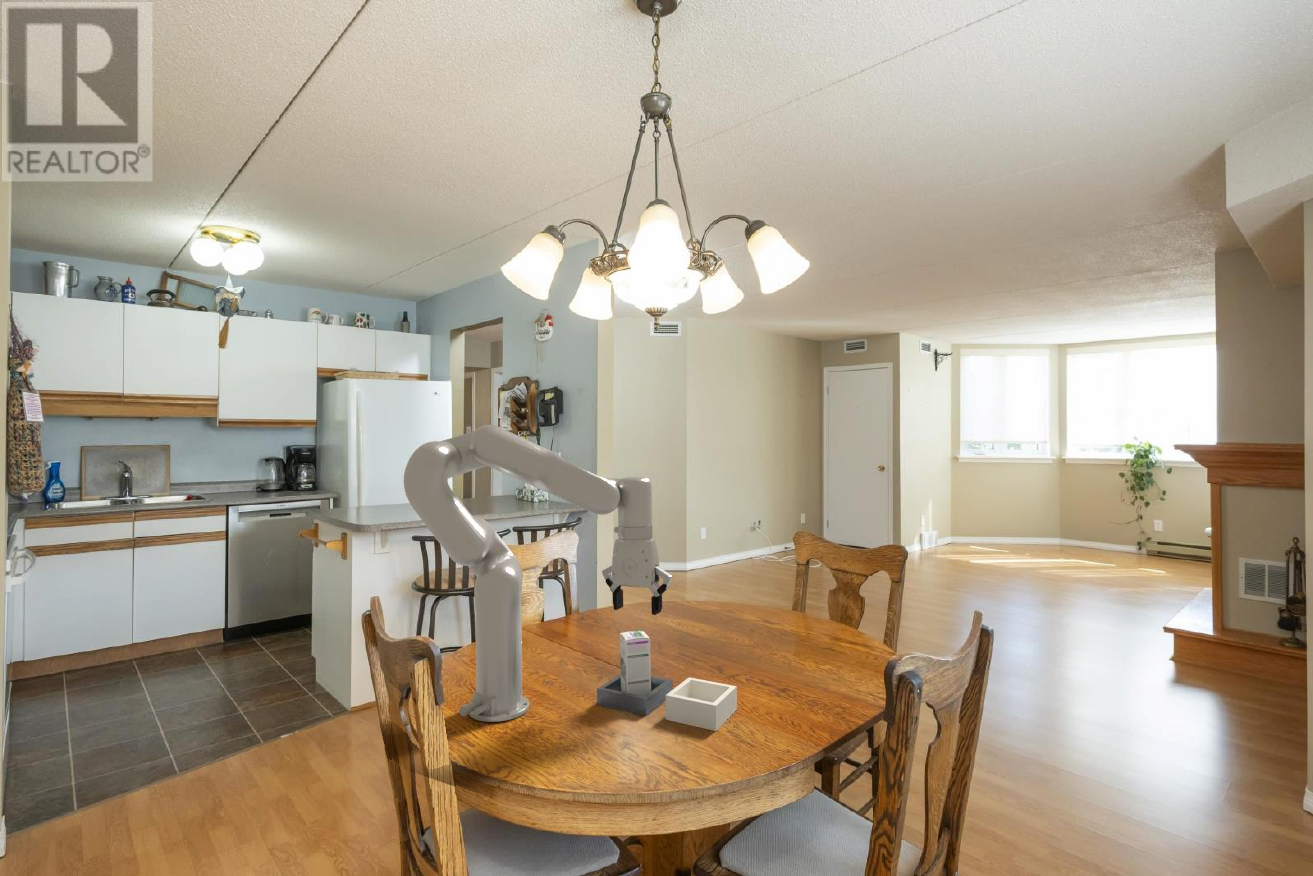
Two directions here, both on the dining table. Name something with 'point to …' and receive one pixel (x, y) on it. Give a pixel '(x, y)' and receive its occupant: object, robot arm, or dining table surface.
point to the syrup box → (635, 663)
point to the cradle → (701, 703)
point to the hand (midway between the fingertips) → (637, 611)
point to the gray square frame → (634, 696)
